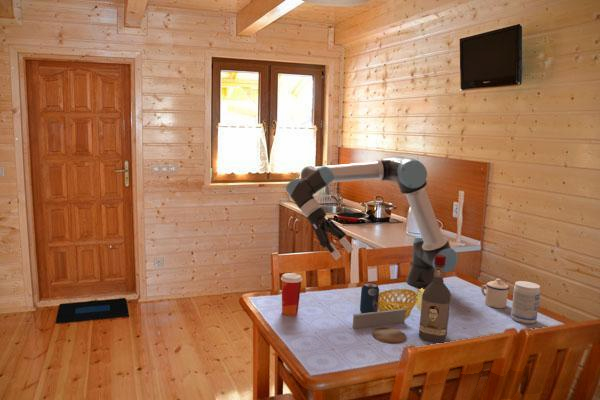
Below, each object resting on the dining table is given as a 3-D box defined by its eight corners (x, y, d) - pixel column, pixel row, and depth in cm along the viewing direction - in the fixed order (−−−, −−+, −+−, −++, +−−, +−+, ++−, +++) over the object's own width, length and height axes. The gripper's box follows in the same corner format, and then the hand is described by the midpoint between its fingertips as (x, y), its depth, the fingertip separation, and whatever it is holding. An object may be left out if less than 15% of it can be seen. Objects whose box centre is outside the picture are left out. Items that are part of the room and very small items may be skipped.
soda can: (376, 317, 203) (379, 288, 201) (358, 315, 205) (361, 286, 203) (377, 311, 210) (380, 282, 208) (360, 309, 211) (362, 280, 209)
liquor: (421, 330, 194) (429, 251, 189) (447, 335, 190) (455, 254, 186) (417, 339, 185) (425, 257, 181) (444, 344, 182) (452, 261, 177)
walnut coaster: (365, 331, 190) (366, 329, 190) (393, 327, 195) (394, 326, 195) (383, 345, 179) (384, 343, 179) (413, 340, 184) (413, 339, 184)
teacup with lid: (511, 306, 224) (514, 280, 223) (498, 310, 219) (501, 283, 217) (486, 298, 234) (489, 272, 232) (474, 301, 229) (477, 275, 227)
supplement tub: (538, 326, 204) (543, 289, 202) (512, 322, 206) (516, 286, 204) (533, 317, 213) (538, 282, 211) (509, 313, 216) (513, 279, 213)
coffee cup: (288, 307, 209) (290, 271, 207) (304, 313, 204) (306, 276, 202) (274, 312, 203) (276, 275, 200) (290, 318, 198) (292, 280, 195)
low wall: (352, 327, 193) (353, 314, 192) (402, 321, 202) (403, 308, 201) (354, 328, 192) (355, 315, 191) (404, 322, 200) (405, 309, 200)
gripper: (319, 213, 225) (349, 253, 221) (293, 222, 203) (326, 266, 199) (332, 203, 222) (362, 243, 218) (306, 210, 200) (340, 255, 196)
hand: (345, 254), depth 208 cm, fingers open, 13 cm apart
